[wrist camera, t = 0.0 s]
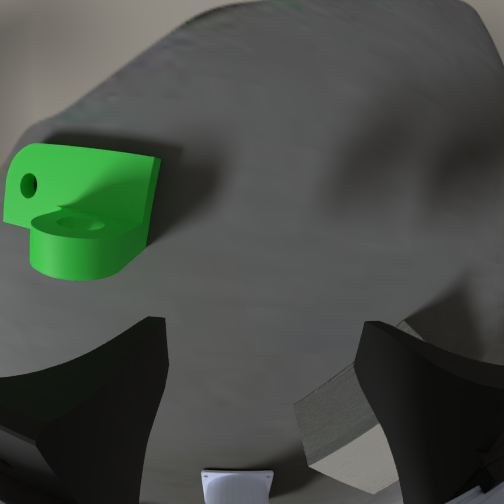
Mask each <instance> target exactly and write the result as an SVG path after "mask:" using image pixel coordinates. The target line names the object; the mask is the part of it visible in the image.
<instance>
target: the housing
mask: <svg viewBox="0 0 504 504" xmlns="http://www.w3.org/2000/svg"><path fill="white" fill-rule="evenodd" d="M396 328H398V329H400V330H402V331H404V332H406V333H408V334H410V335H412V336H414V337H416V338H418V339H421V340H423V339H422V338H421V337H420V336H419V335H418V334H417V333H416V332H415V331H414V330H413V329H412V328H411V327H410V326H409V325H408V324H407V323H406V322H405V321H404V320H403V321H402V322H401V323H400V324H399V325H398V326H396ZM423 341H424V340H423ZM353 365H354V362H353V363H352V364H351V365H350V366H348V367H347V368H346V369H344V370H343V371H342V372H340V373H339V374H338V375H336V376H335V377H334V378H332V379H331V380H330V381H328V382H327V383H325V384H324V385H323V386H321V387H320V388H318V389H317V390H315V391H314V392H313V393H311V394H310V395H308V396H307V397H305V398H304V399H302V400H301V401H299V402H298V403H296V404H295V405H293V407H294V411H295V415H296V419H297V423H298V427H299V431H300V435H301V439H302V443H303V447H304V451H305V455H306V459H307V463H308V466H309V467H311V468H313V469H315V470H317V471H319V472H321V473H323V474H326V475H328V476H330V477H332V478H334V479H337V480H339V481H341V482H344V483H346V484H348V485H351V486H353V487H356V488H358V489H361V490H363V491H366V492H369V493H371V494H375V493H376V492H378V491H380V490H382V489H384V488H385V487H387V486H389V485H390V484H392V483H394V482H395V481H397V480H399V477H398V473H397V469H396V466H395V462H394V459H393V456H392V453H391V450H390V447H389V444H388V441H387V438H386V436H385V434H384V431H383V429H382V427H381V425H380V423H379V421H378V420H377V418H376V416H375V414H374V412H373V410H372V408H371V406H370V405H369V403H368V401H367V399H366V397H365V395H364V393H363V391H362V389H361V387H360V385H359V382H358V379H357V376H356V373H355V370H354V367H353Z"/></svg>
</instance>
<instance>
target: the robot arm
mask: <svg viewBox="0 0 504 504" xmlns="http://www.w3.org/2000/svg"><path fill="white" fill-rule="evenodd" d="M353 367H354V370H355V373H356V376H357V379H358V382H359V385H360V387H361V389H362V391H363V393H364V395H365V397H366V399H367V401H368V403H369V405H370V406H371V408H372V410H373V412H374V414H375V416H376V418H377V420H378V421H379V423H380V425H381V427H382V429H383V431H384V434H385V436H386V438H387V441H388V444H389V447H390V450H391V453H392V456H393V459H394V462H395V466H396V469H397V473H398V477H399V481H400V486H401V491H402V496H403V502H404V504H504V366H502V365H496V364H490V363H485V362H481V361H476V360H473V359H469V358H466V357H463V356H459V355H456V354H453V353H451V352H448V351H445V350H443V349H441V348H438V347H436V346H434V345H431V344H429V343H427V342H425V341H423V340H421V339H418V338H416V337H414V336H412V335H410V334H408V333H406V332H404V331H402V330H400V329H398V328H396V327H393V326H391V325H389V324H386V323H384V322H381V321H365V322H364V327H363V331H362V335H361V339H360V343H359V346H358V350H357V354H356V358H355V361H354V365H353ZM168 368H169V359H168V349H167V337H166V323H165V318H162V317H150V316H148V317H146V318H144V319H143V320H141V321H140V322H138V323H137V324H135V325H134V326H132V327H131V328H129V329H127V330H126V331H124V332H123V333H121V334H120V335H118V336H117V337H115V338H114V339H112V340H110V341H108V342H107V343H105V344H103V345H101V346H100V347H98V348H96V349H94V350H92V351H91V352H89V353H87V354H84V355H82V356H80V357H78V358H75V359H73V360H71V361H68V362H66V363H63V364H60V365H57V366H54V367H50V368H47V369H44V370H41V371H37V372H32V373H28V374H23V375H17V376H11V377H1V378H0V504H139V495H140V486H141V478H142V470H143V464H144V458H145V452H146V446H147V442H148V438H149V435H150V431H151V428H152V425H153V422H154V419H155V416H156V413H157V410H158V407H159V404H160V401H161V398H162V395H163V392H164V389H165V384H166V379H167V374H168ZM201 475H202V483H203V490H204V497H205V503H206V504H269V497H268V495H269V491H270V487H271V483H272V479H273V475H274V473H273V471H271V470H268V471H219V470H202V472H201Z"/></svg>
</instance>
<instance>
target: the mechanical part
mask: <svg viewBox="0 0 504 504" xmlns="http://www.w3.org/2000/svg"><path fill="white" fill-rule="evenodd" d="M160 164H161V159H160V158H156V157H150V156H144V155H137V154H131V153H124V152H116V151H109V150H101V149H93V148H84V147H75V146H64V145H53V144H41V143H35V144H31V145H28V146H26V147H25V148H23V149H22V150H21V151H20V152H19V153H18V154H17V155H16V156H15V158H14V159H13V161H12V163H11V165H10V168H9V171H8V174H7V179H6V188H5V200H4V219H3V222H7V223H10V224H14V225H18V226H22V227H26V228H29V229H30V263H31V265H32V266H33V267H34V268H35V269H36V270H37V271H39V272H41V273H43V274H45V275H48V276H51V277H54V278H59V279H65V280H96V279H102V278H106V277H109V276H112V275H114V274H116V273H118V272H119V271H120V270H121V269H123V268H124V267H125V266H126V265H127V264H128V263H129V262H130V261H131V260H133V259H134V258H135V257H136V256H137V255H138V254H139V253H141V252H142V251H143V250H144V249H145V248H146V243H147V236H148V230H149V223H150V217H151V211H152V205H153V200H154V194H155V189H156V183H157V178H158V173H159V169H160ZM35 178H36V180H37V190H36V192H35V189H34V180H35Z"/></svg>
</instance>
